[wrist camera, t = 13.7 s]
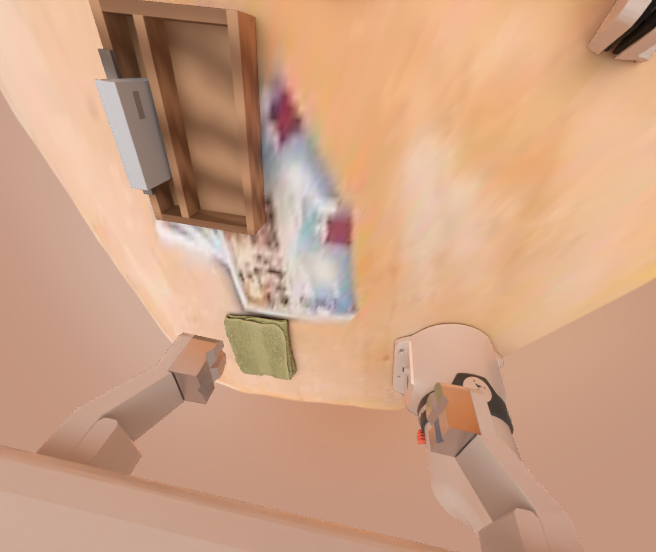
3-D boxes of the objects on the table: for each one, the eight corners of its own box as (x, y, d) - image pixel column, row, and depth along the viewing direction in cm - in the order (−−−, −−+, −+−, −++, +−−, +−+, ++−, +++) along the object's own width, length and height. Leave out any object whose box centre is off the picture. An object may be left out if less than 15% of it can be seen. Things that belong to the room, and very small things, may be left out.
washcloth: (289, 314, 52) (284, 327, 50) (298, 371, 63) (294, 384, 60) (223, 308, 54) (215, 320, 52) (243, 365, 65) (237, 377, 62)
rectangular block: (183, 172, 37) (148, 190, 31) (169, 169, 37) (131, 187, 31) (163, 79, 31) (115, 82, 25) (146, 77, 31) (94, 79, 25)
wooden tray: (265, 221, 41) (252, 237, 37) (173, 207, 42) (152, 221, 38) (255, 17, 27) (234, 9, 24) (120, 3, 28) (80, -7, 25)
